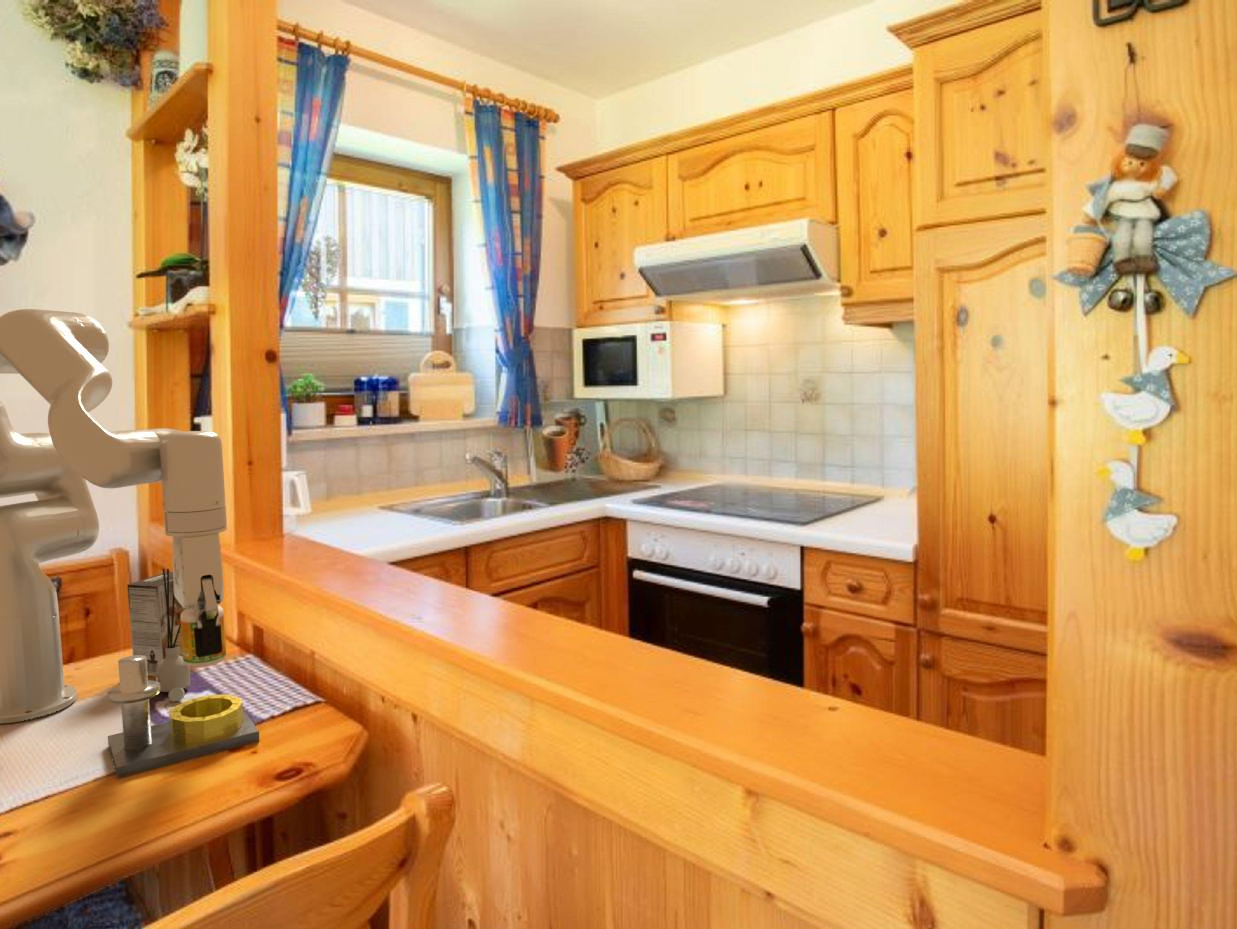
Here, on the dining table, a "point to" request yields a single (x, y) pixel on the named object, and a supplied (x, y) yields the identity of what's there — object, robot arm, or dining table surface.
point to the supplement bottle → (189, 640)
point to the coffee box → (153, 619)
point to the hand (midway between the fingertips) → (204, 647)
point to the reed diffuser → (172, 659)
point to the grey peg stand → (171, 724)
